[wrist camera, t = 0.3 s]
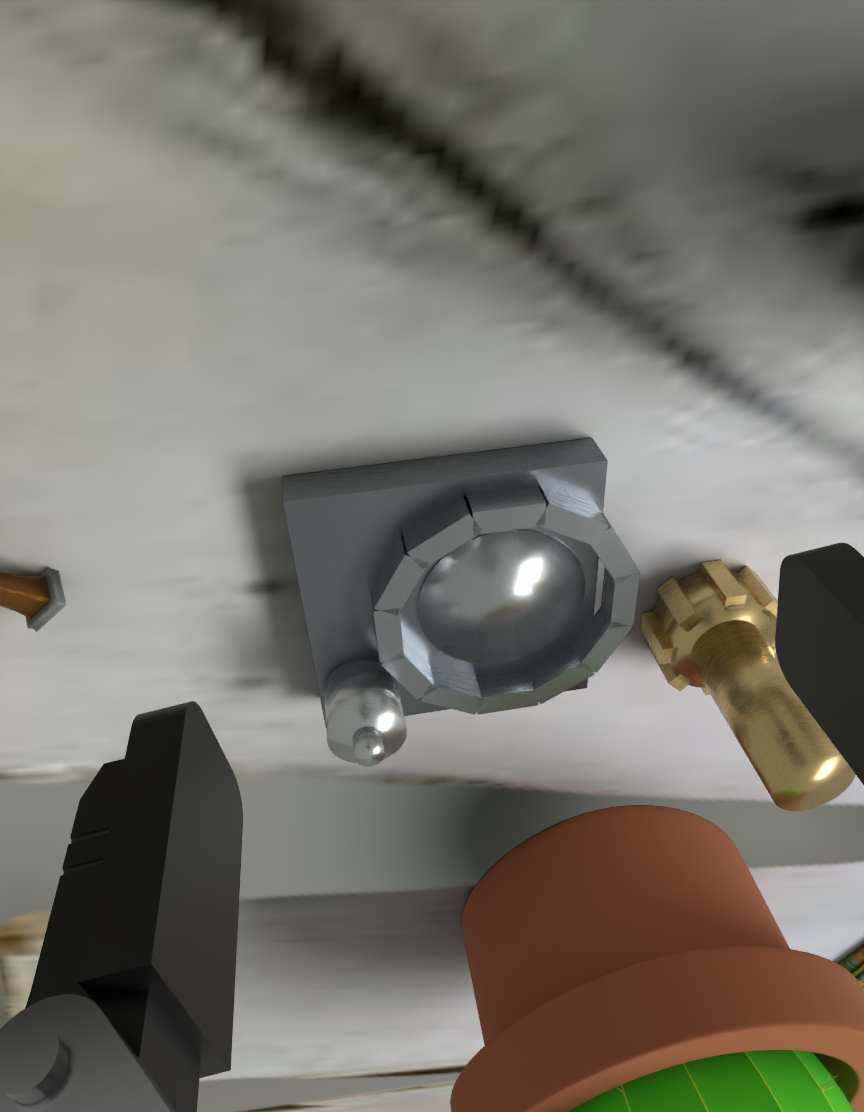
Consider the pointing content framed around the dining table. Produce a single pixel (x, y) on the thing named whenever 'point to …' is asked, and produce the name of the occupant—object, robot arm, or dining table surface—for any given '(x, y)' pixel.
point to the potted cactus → (648, 980)
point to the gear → (745, 679)
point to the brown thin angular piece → (33, 596)
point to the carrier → (455, 585)
